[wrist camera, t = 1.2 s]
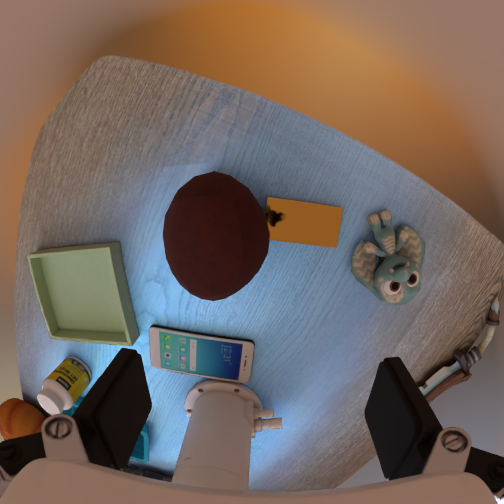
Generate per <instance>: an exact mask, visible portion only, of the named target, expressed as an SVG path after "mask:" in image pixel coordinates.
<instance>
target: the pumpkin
mask: <svg viewBox="0 0 504 504" xmlns="http://www.w3.org/2000/svg"><path fill="white" fill-rule="evenodd" d="M46 419H47V417H46V416H45V415H44V414H42V413H41V412H40V411H39V410H38V409H37V408H36V407H35V406H33V405H31V404H29V403H27V402H25V401H23V400H20V399H17V398H12V399H9V400H7V401H5V402H4V403H2V404H1V405H0V433H1V435H2V436H3V438H4V440H8V439H13V438H17V437H21V436H26V435H30V434H34V433H38V432H41V426H42V424H43V422H44V421H45V420H46Z"/></svg>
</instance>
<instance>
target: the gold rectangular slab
mask: <svg viewBox="0 0 504 504" xmlns="http://www.w3.org/2000/svg"><path fill="white" fill-rule="evenodd" d="M342 210H343V208H342V207H337V206H330V205H324V204H317V203H310V202H304V201H296V200H289V199H282V198H274V197H267V202H266V210H265V217H266V220H267V224H268V228H269V232H270V239H269V240H277V241H285V242H294V243H302V244H310V245H319V246H327V247H335V248H336V247H337V241H338V235H339V229H340V223H341V217H342Z"/></svg>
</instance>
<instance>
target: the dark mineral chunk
mask: <svg viewBox="0 0 504 504" xmlns="http://www.w3.org/2000/svg"><path fill="white" fill-rule="evenodd" d="M121 471H122V472H126V473H130V474H134V475H138V476H143V477H147V478H152V479H156V480H161V481H166V482H172V478H170V477H166V476H163V475H161V474H159V473H156V472H151V471H148V470H145V471H142V472H141V471H137V468H136V467H135V466H129V465H127V466H126V468H125V469H121Z"/></svg>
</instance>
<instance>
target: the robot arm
mask: <svg viewBox="0 0 504 504" xmlns="http://www.w3.org/2000/svg"><path fill="white" fill-rule="evenodd" d="M184 407H185V411H186V414H187V415H188V417H189V418H190V419H189V423H188V426H187V430H186V433H185V436H184V440H183V443H182V447H181V450H180V454H179V457H178V461H177V464H176V468H175V471H174V475H173V478H172V482H166V481H161V480H156V479H152V478H147V477H143V476H138V475H134V474H130V473H126V472H122V471H121V469H125V468H126V466H127V464H128V461H129V459H130V457H131V454H132V452H133V450H134V447H135V445H136V443H137V441H138V438H139V436H140V434H141V431H142V429H143V427H144V425H145V422H146V420H147V418H148V416H149V413H150V411H151V408H152V402H151V398H150V393H149V389H148V385H147V381H146V376H145V371H144V367H143V362H142V357H141V355H140V354H138V353H137V351H136V350H133V349H127V348H122V349H121V350H120V351H119V352H118V354H117V355H116V356H115V358H114V359H113V360H112V362H111V363H110V364H109V366H108V367H107V368H106V370H105V371H104V373H103V374H102V375H101V376H100V377H99V378H98V379H97V381H96V382H95V384H94V385H93V386H92V388H91V389H90V391H89V392H88V393H87V395H86V396H85V398H84V399H83V400H82V402H81V403H80V405H79V406H78V407H77V409H76V410H75V412H74V413H73V415H72V416H69V415H67V414H55V415H52V416H50V417H48V418H47V419H46V420H45V421H44V422H43V424H42V426H41V432H38V433H34V434H30V435H26V436H21V437H17V438H13V439H8V440H5V441H2V442H1V443H0V504H504V457H501V456H498V455H495V454H491V453H489V452H486V451H483V450H480V449H477V448H474V447H471V438H470V436H469V435H468V433H467V432H465V431H464V430H463V429H460V428H457V427H448V428H445V429H443V428H442V426H441V424H440V423H439V421H438V419H437V418H436V416H435V414H434V412H433V411H432V409H431V407H430V406H429V404H428V402H427V400H426V399H425V397H424V395H423V394H422V392H421V390H420V389H419V388H418V386H417V385H416V383H415V381H414V380H413V378H412V376H411V375H410V373H409V372H408V370H407V368H406V367H405V365H404V364H403V362H402V360H401V359H400V358H399V357H390V358H385V359H384V361H383V362H380V364H379V367H378V370H377V374H376V377H375V380H374V383H373V387H372V390H371V393H370V396H369V399H368V402H367V405H366V408H365V419H366V422H367V425H368V428H369V431H370V434H371V437H372V440H373V443H374V446H375V449H376V452H377V455H378V458H379V461H380V464H381V468H382V471H383V474H384V477H385V478H386V479H387V478H389V481H385V482H379V483H373V484H367V485H360V486H353V487H346V488H337V489H327V490H314V491H293V492H257V491H248V481H249V466H250V450H251V438H255V433H256V432H259V431H262V429H282V418H271V419H262V417H266V418H268V417H274V409H265V410H263V407H262V403H261V401H260V399H259V397H258V396H257V395H256V394H255V393H254V392H253V391H252V390H251V389H249V388H247V387H246V386H244V385H241V384H239V383H236V382H233V381H226V380H209V381H204V382H201V383H199V384H197V385H195V386H194V387H193V388H191V389H190V390H189V392H188V393H187V396H186V398H185V403H184Z"/></svg>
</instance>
